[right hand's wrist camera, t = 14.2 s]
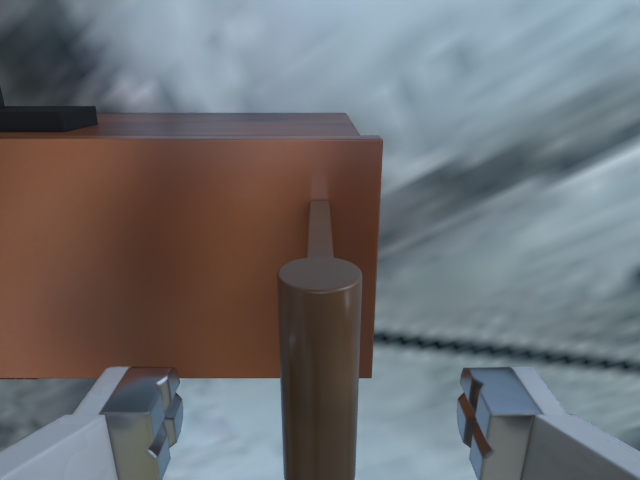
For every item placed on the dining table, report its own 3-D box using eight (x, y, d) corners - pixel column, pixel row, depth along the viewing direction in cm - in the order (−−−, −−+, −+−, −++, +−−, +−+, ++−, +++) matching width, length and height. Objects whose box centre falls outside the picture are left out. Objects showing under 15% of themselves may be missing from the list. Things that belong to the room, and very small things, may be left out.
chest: (346, 112, 25) (361, 135, 16) (343, 273, 28) (354, 363, 19) (65, 112, 25) (-73, 135, 16) (95, 273, 28) (-6, 364, 19)
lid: (379, 135, 16) (436, 194, 8) (369, 364, 19) (402, 560, 12) (-74, 135, 16) (-444, 195, 8) (-6, 364, 19) (-225, 561, 12)
